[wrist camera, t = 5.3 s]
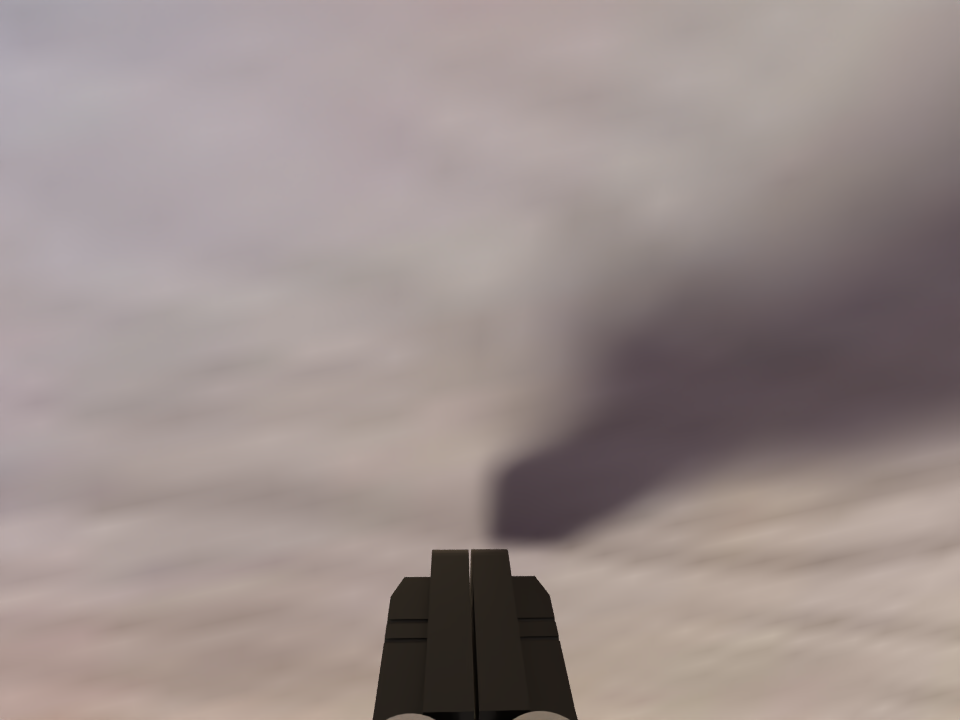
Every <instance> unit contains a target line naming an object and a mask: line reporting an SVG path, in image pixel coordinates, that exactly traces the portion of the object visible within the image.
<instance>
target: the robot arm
mask: <svg viewBox="0 0 960 720" xmlns="http://www.w3.org/2000/svg"><path fill="white" fill-rule="evenodd" d="M554 618H555V617H554V613H553V608H552V604H551V599H550V595H549V594H548V592H547V591H546V590H545V589H544V587H543V586H542V585H541V584H540V582H539V581H538V580H537V578H536V577H535V576H511V569H510V562H509V555H508V550H507V549H471V567H470V578H469V552H468V550H432V561H431V577H404V579H403V580H402V582H401V583H400V584H399V586H398V587H397V589H396V590H395V591H394V593H393V594H392V596H391V599H390V606H389V613H388V621H387V626H386V633H385V643H384V647H383V654H382V661H381V667H380V674H379V681H378V688H377V695H376V702H375V709H374V715H373V720H578V719H577V715H576V712H575V708H574V703H573V698H572V694H571V689H570V685H569V680H568V676H567V671H566V667H565V662H564V658H563V653H562V649H561V644H560V641H559V635H558V631H557V626H556V622H555V619H554Z"/></svg>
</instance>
